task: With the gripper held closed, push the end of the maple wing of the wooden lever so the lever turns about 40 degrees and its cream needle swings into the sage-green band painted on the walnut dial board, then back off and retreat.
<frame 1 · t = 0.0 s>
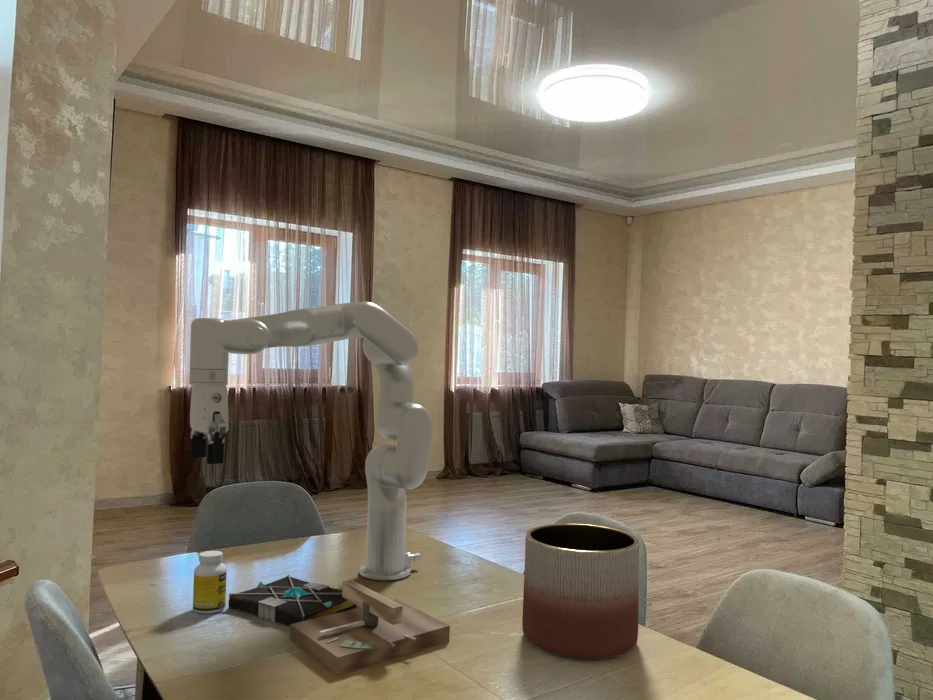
hand: (206, 460, 147), 31 cm above the table, fingers open, 9 cm apart
pill bottle: (209, 610, 148), on the table
planter: (579, 640, 138), on the table
dial board: (369, 640, 135), on the table
wooden lever: (349, 613, 132), point 6 cm above the table, hinge at 0.0°
book: (294, 611, 150), on the table
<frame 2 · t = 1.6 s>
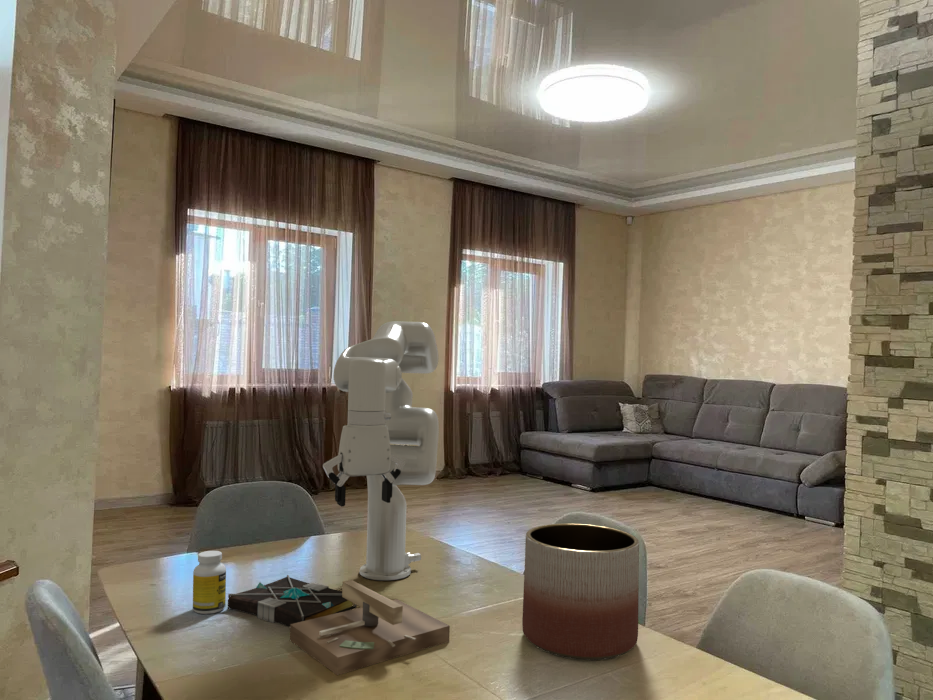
hand: (363, 503, 145), 24 cm above the table, fingers open, 9 cm apart
nothing on the table moved.
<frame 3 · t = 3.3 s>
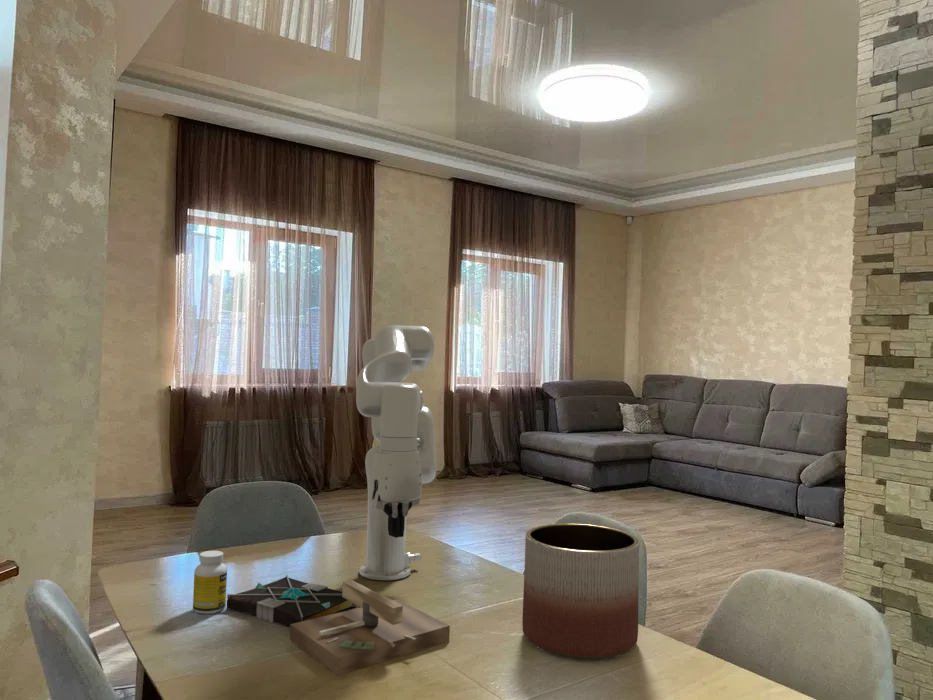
hand: (395, 535, 144), 18 cm above the table, fingers closed
nothing on the table moved.
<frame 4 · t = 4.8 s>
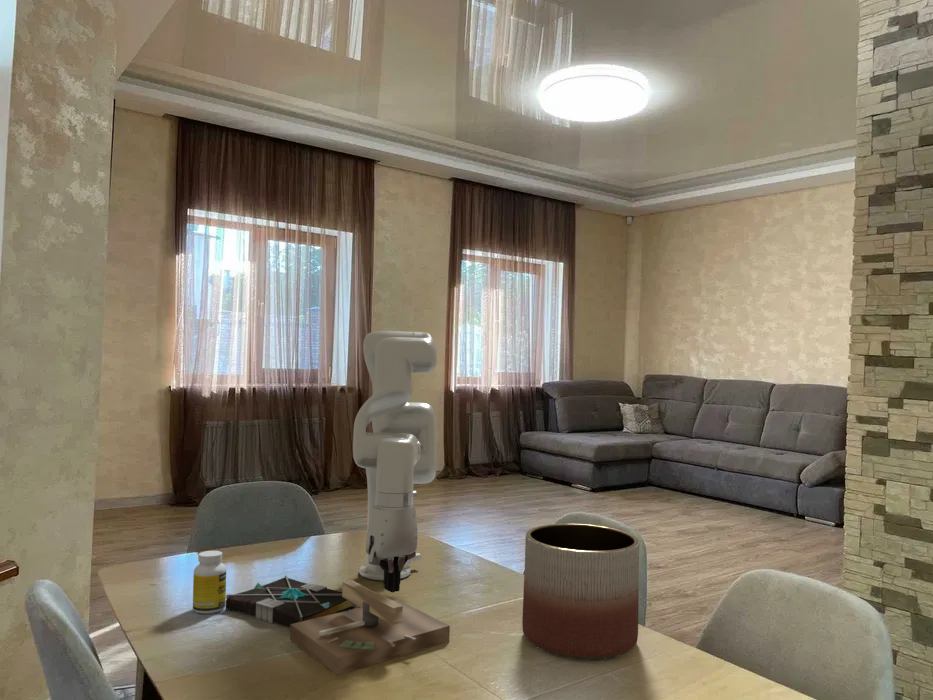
hand: (391, 589, 144), 7 cm above the table, fingers closed
nothing on the table moved.
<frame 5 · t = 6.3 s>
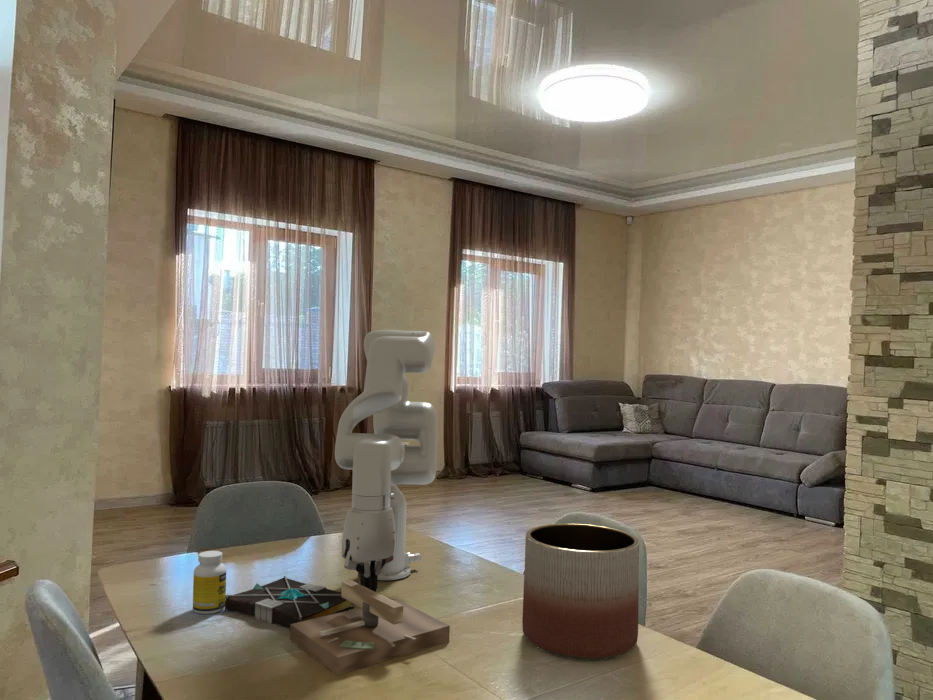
hand: (368, 594, 141), 7 cm above the table, fingers closed
wooden lever: (350, 613, 132), point 6 cm above the table, hinge at 1.2°, touching gripper
everything else where it was.
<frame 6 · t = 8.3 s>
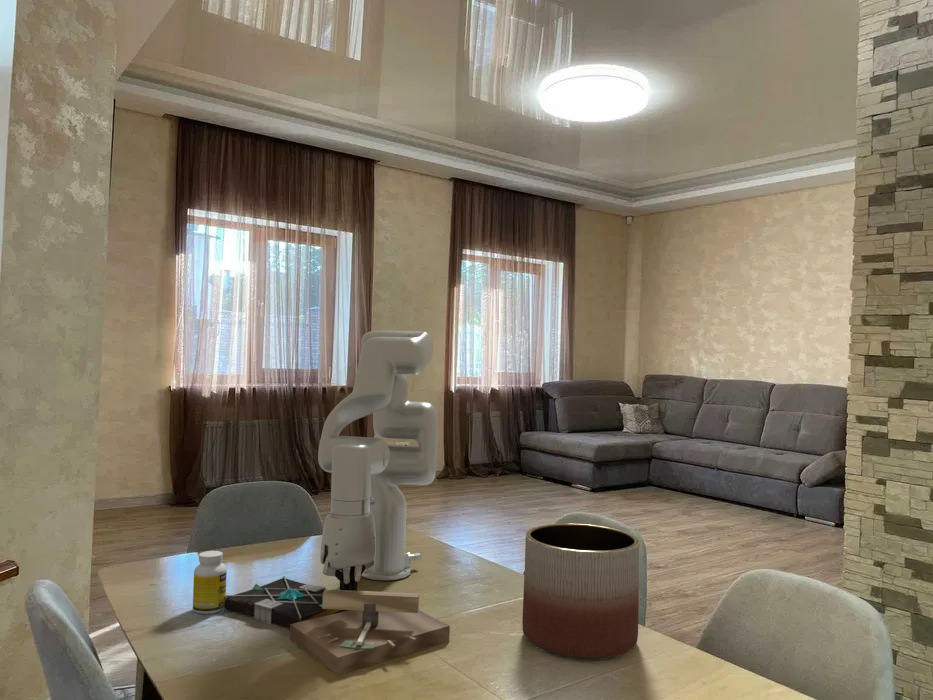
hand: (348, 601, 138), 6 cm above the table, fingers closed
wooden lever: (366, 617, 130), point 6 cm above the table, hinge at 47.5°, touching gripper
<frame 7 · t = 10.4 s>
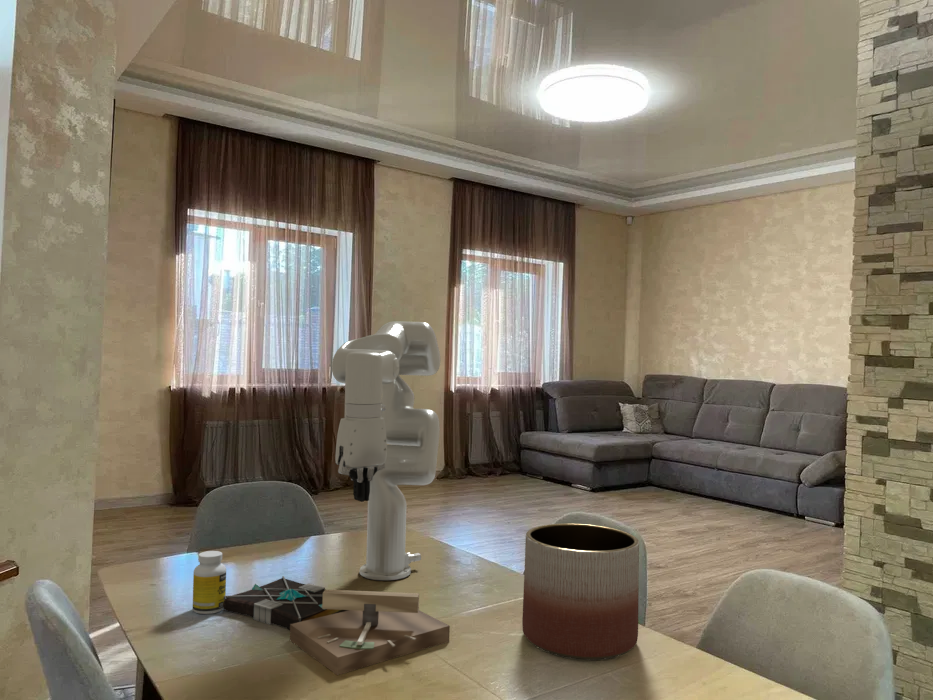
hand: (361, 499, 147), 24 cm above the table, fingers closed
wooden lever: (366, 617, 130), point 6 cm above the table, hinge at 47.8°
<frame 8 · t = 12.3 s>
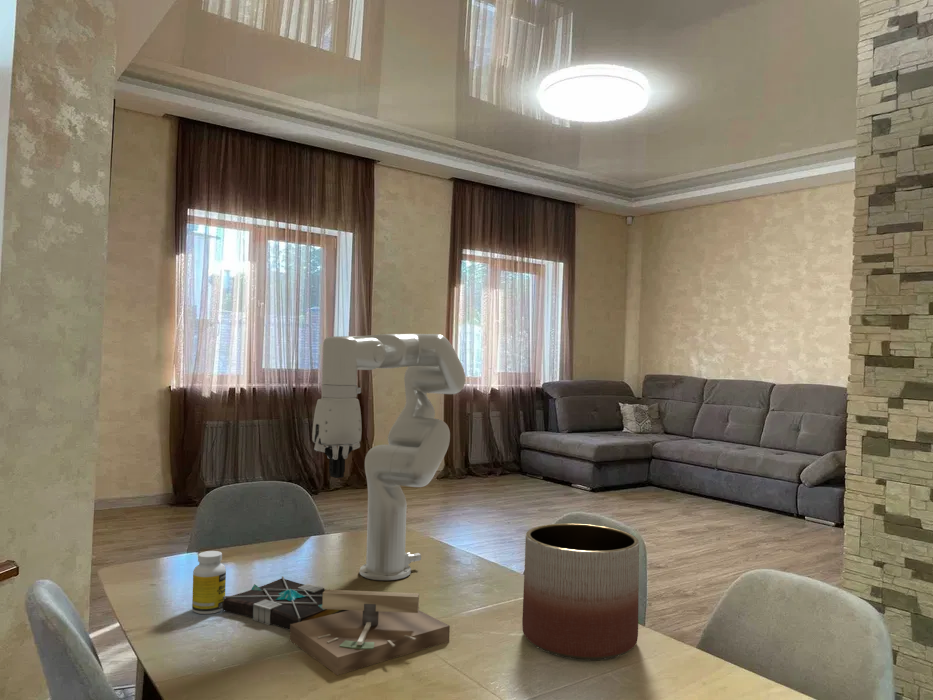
hand: (336, 476, 156), 27 cm above the table, fingers closed
at the end: wooden lever at +48° (first picture: +0°) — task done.
